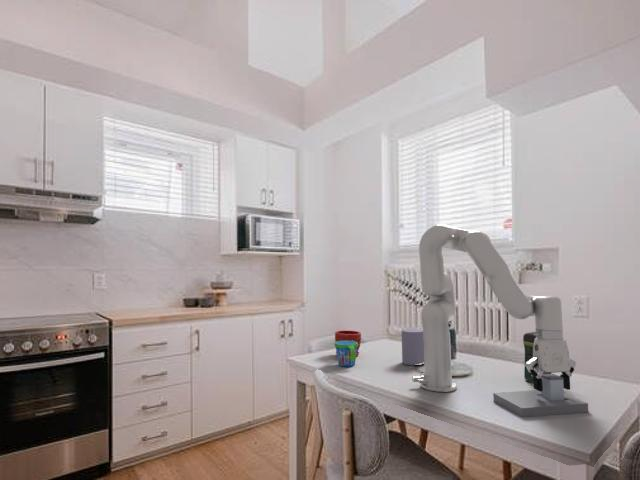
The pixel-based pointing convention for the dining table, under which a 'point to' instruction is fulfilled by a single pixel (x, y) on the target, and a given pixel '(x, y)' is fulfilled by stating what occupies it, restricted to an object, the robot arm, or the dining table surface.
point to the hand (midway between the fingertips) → (552, 389)
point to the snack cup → (346, 352)
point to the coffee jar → (529, 353)
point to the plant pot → (348, 337)
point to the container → (412, 346)
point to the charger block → (552, 387)
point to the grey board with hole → (538, 403)
